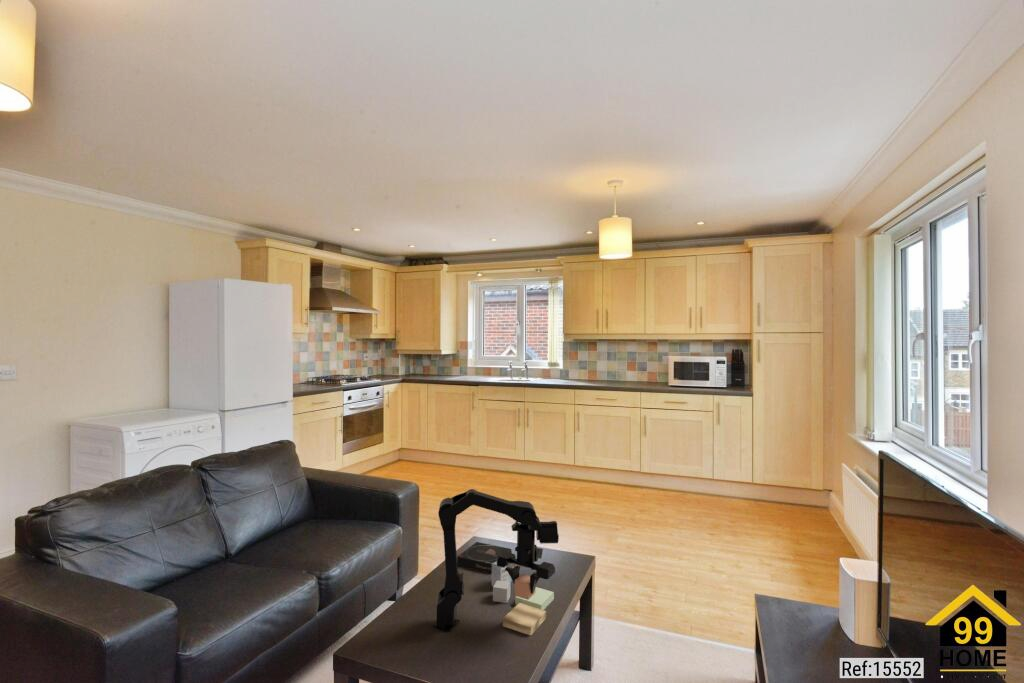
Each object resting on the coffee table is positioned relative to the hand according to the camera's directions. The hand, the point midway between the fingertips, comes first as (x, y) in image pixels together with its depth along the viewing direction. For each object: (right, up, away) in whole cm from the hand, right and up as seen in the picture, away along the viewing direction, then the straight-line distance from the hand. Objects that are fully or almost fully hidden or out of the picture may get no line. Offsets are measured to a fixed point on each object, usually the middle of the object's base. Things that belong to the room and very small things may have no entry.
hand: (525, 591), depth 163 cm
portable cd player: (-15, -10, +44) cm, 48 cm away
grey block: (-8, -10, +15) cm, 19 cm away
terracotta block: (0, -1, 0) cm, 1 cm away
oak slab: (0, -10, 0) cm, 10 cm away
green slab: (+4, -10, +13) cm, 17 cm away
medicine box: (-8, -10, +25) cm, 28 cm away
